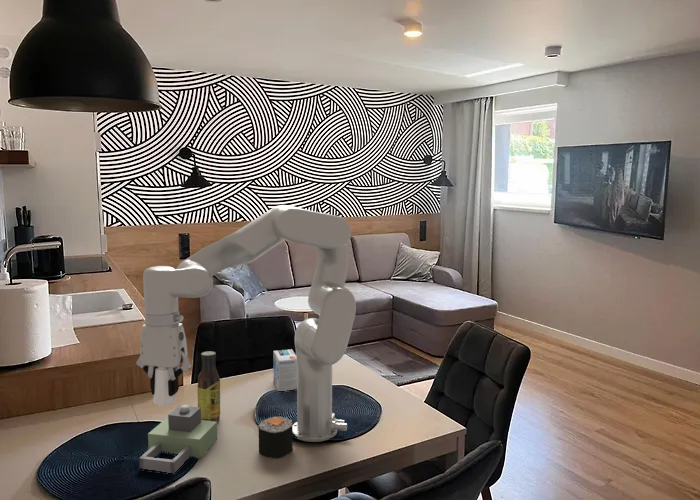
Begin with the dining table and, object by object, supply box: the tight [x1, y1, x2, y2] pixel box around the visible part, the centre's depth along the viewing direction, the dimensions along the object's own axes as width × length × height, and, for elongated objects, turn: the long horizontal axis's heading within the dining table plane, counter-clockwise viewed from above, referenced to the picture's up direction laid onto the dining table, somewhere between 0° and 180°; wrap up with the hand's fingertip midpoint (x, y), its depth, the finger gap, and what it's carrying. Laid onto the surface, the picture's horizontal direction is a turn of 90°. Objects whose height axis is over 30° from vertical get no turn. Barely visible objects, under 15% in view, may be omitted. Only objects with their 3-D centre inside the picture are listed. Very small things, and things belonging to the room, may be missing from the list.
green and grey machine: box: [138, 404, 218, 475], centre depth 138 cm, size 14×18×10 cm
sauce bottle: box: [197, 350, 221, 423], centre depth 156 cm, size 7×6×20 cm
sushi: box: [257, 415, 294, 459], centre depth 140 cm, size 8×8×8 cm
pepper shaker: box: [152, 367, 178, 407], centre depth 131 cm, size 5×5×11 cm
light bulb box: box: [272, 348, 297, 392], centre depth 183 cm, size 11×7×11 cm, turn 17°
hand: (164, 392), depth 132 cm, fingers closed on pepper shaker, 3 cm apart
